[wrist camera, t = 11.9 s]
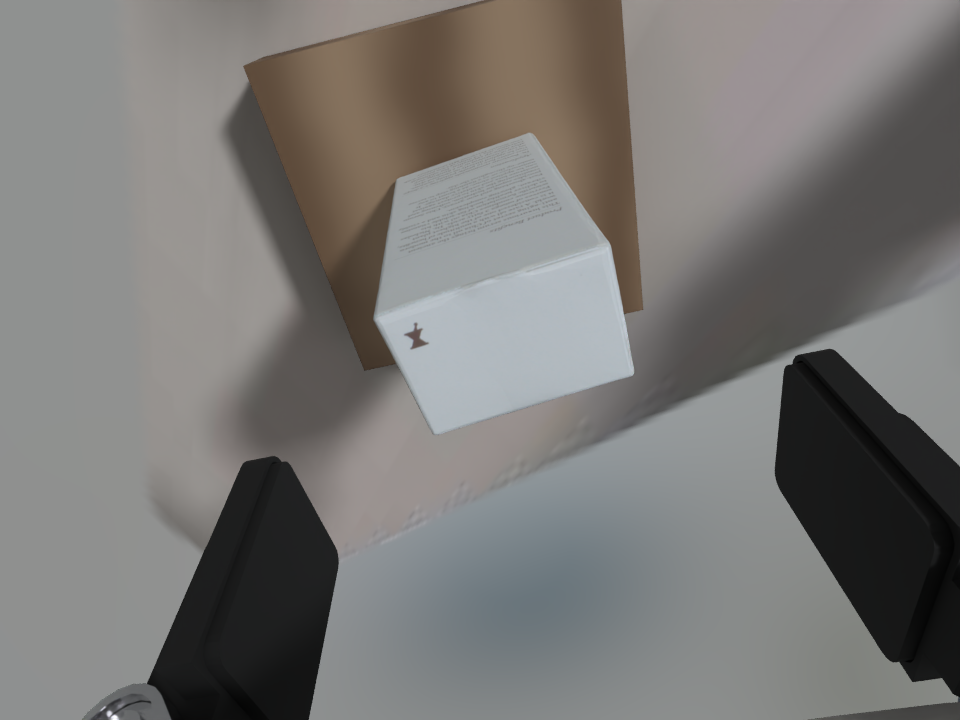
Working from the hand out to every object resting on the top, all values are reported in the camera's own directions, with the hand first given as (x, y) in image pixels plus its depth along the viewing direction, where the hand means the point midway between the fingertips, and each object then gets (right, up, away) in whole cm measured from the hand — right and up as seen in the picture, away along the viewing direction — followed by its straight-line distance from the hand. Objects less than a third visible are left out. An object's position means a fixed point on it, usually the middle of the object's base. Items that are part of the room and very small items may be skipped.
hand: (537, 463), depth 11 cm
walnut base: (-2, +10, +16) cm, 19 cm away
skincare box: (-1, +9, +14) cm, 17 cm away
